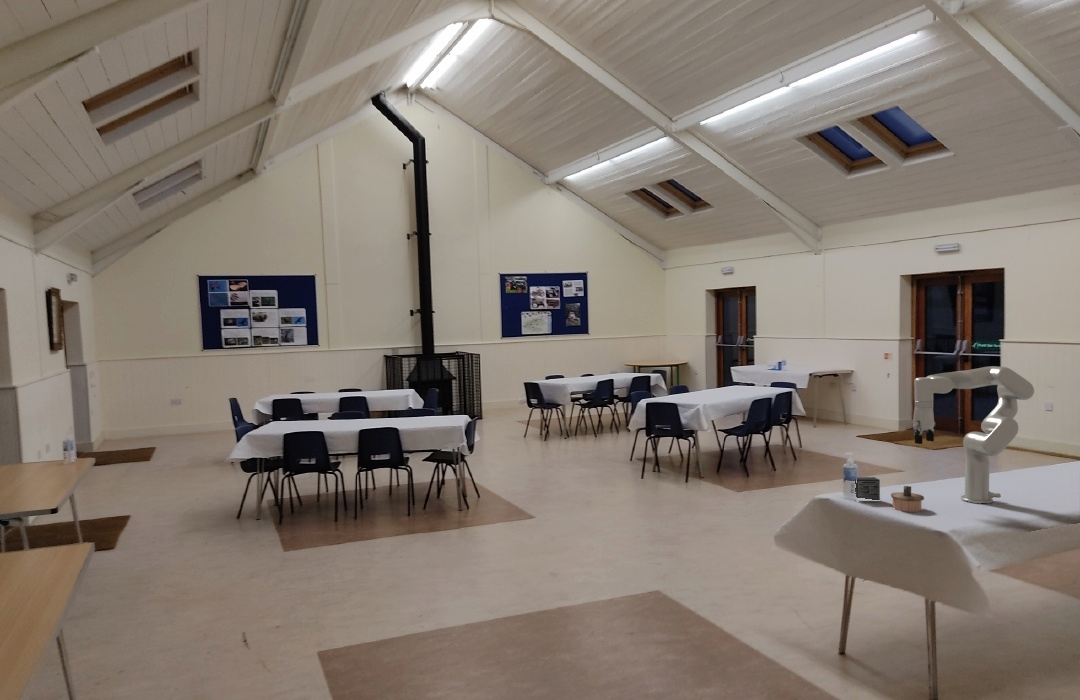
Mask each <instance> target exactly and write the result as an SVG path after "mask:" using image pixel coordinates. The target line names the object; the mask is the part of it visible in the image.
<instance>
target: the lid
mask: <svg viewBox="0 0 1080 700" xmlns="http://www.w3.org/2000/svg"><path fill="white" fill-rule="evenodd" d="M890 497H891V498H892V499H893V498H895V499H899V500H905V501H924V500H925V497H924V495H921V494H919V493H915V492H914V493H913V492H912V486H909V485H904V486H903V491H900V492H898V491H897V492H892V493H890Z"/></svg>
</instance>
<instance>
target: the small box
mask: <svg viewBox="0 0 1080 700" xmlns="http://www.w3.org/2000/svg"><path fill="white" fill-rule="evenodd" d="M880 480H881V479H880V478H877V477H875V476H865V477H864V476H863V477H862V476H857V483H856V479H855V484H856V488H855V492H856V493H855V494H856V497H857V498H865V499H872V500H880V501H881V492H880V490H881V488H880V486H881V485H880V484H881V483H880V482H881V481H880Z"/></svg>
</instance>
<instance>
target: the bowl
mask: <svg viewBox="0 0 1080 700" xmlns="http://www.w3.org/2000/svg"><path fill="white" fill-rule="evenodd" d="M922 501H923V500H922ZM922 501H905V500H899V499H895V498H892V508H893V509H894V508H895V509H894V510H896V509H898V510H897V511H899V510H902V511H901V512H905V511H910V512H909V513H918V512H917V511H919V512H921V511H922V508H923V507H922V506H923V505H922Z"/></svg>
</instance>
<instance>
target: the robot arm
mask: <svg viewBox="0 0 1080 700" xmlns="http://www.w3.org/2000/svg"><path fill="white" fill-rule="evenodd" d="M913 382H914V411H913V419H912V429H913V434H914V444H919V445H923V432H924V431H926V432H925V436H926V437H925V438H926V442H934V441H935V428H936V421H935V415H934V394H948V393H950V392H951V391H952V390H953V389H960V390H968V389H969V390H970V389H971V390H972V389H977V388H982V387H988V386H997V387H996V390H997V391H996V392H997V396H998V400H997V401H998V402H997V404H996V406H995V407H994V408H993V409H992V410H991V412H990V413H989V414H988V415H987V416H986V417H985V418H984V419H983V420H982V422H981V424H980V425H981V426H980V429H981V430H982V431H983V432H981V431H970V432H967V433H966V434H965V436H964V437H963V441H962V445H963V450H964V456H965V457H964V458H965V459H964V460H965V467H964V471H965V472H964V495H961V496H960V500H962V501H964V502H967V501H968V503H973V504H981V503H987V504H993V502H994V498H996V499H997V498H1001V496H1002V495H1001V493H999V492H998V493H996V492H992V491H990V459H989V457H996V456H998V455H999V454H1001V453H1002V452H1003V451H1004V450H1005V449H1006V448H1007V447H1008V446H1009V444H1010V443H1011V442H1012V441H1013V440H1014V439H1015V437H1016V436H1017V435H1018V433H1019V424H1018V421H1016V420H1015V419H1014V418H1015V417H1016V415H1017V414H1018V410H1019V408H1018V407H1019V406H1018V405H1019V404H1018V400H1021V401H1027V400H1030V399H1031V398H1032V397H1033V396H1034V394H1035V387H1034V386H1033V384H1032V383H1031V382H1030V381H1029V380H1027V379H1026V378H1024V377H1023V376H1022V375H1020V374H1019V373H1017V372H1015V371H1014V370H1013V369H1011V368H1008V367H1005V366H995V365H994V366H993V365H992V366H984V367H979V368H974V369H973V368H972V369H968V370H957V371H952V372H951V371H949V372H942V373H940V372H939V373H935V374H930V375H927V376H926V377H916V378H915V379H914V381H913Z"/></svg>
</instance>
